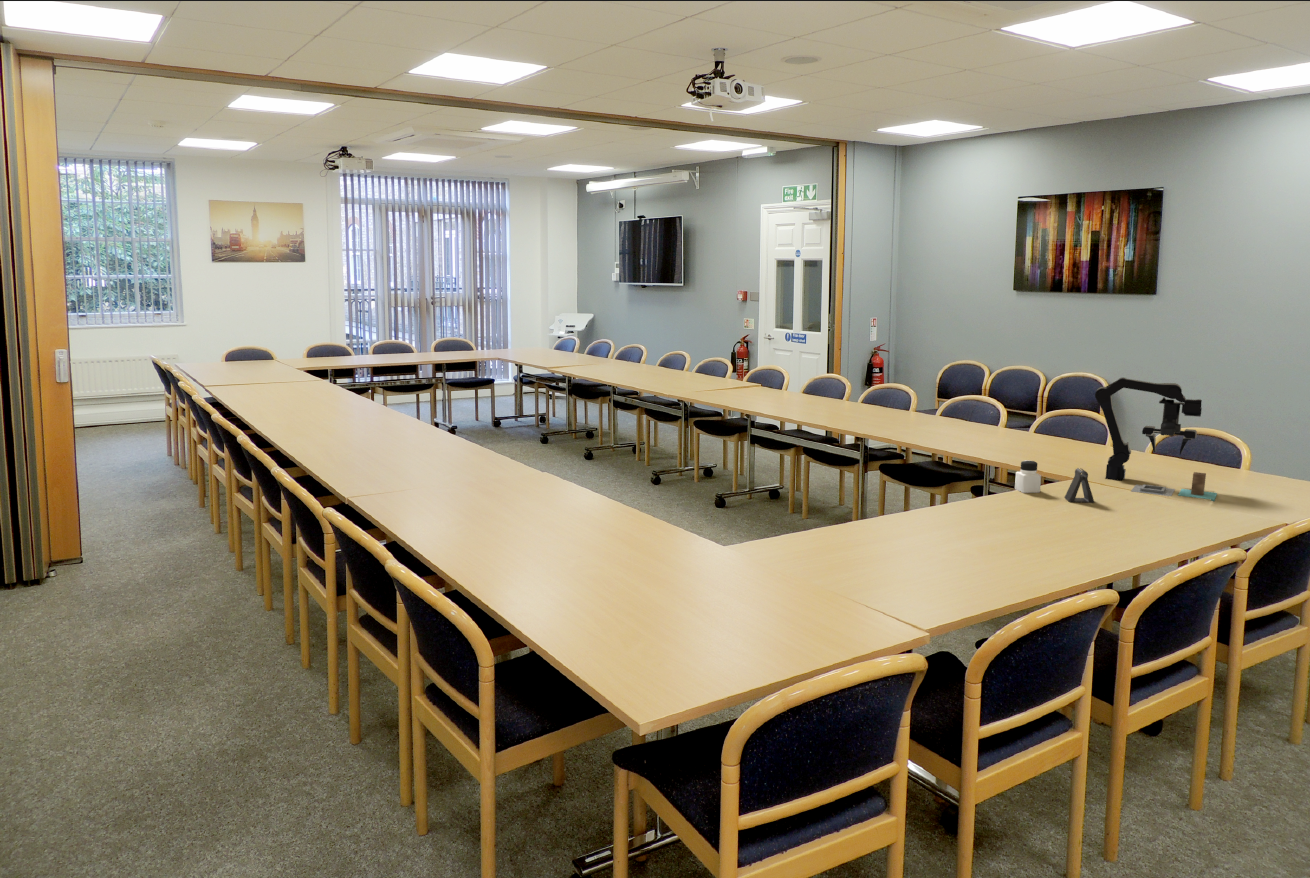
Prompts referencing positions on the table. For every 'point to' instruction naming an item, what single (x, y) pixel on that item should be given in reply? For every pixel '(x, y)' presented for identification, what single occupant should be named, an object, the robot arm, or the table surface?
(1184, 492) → the mat
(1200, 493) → the walnut block
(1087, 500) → the phone stand
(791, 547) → the table surface
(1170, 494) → the holder
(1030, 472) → the medicine bottle
